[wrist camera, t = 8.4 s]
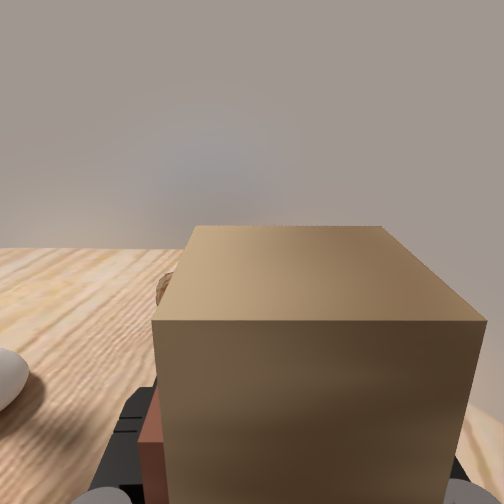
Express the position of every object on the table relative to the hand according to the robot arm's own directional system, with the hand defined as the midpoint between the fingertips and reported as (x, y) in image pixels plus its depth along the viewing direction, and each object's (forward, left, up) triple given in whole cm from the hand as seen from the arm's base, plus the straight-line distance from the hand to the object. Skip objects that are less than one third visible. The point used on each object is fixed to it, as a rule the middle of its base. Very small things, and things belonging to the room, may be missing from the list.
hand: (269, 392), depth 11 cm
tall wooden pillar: (0, -3, -7) cm, 7 cm away
